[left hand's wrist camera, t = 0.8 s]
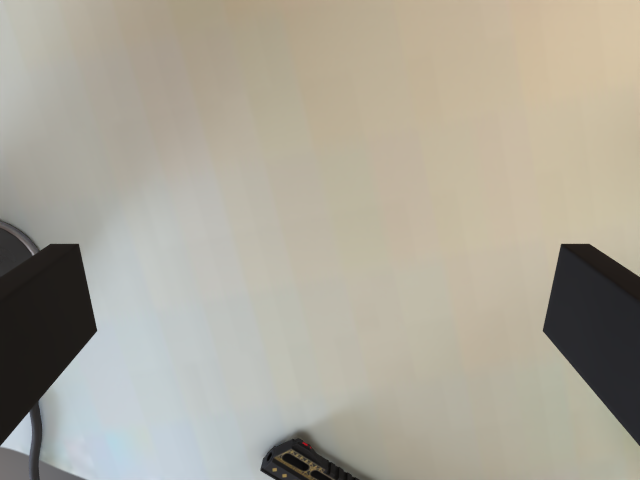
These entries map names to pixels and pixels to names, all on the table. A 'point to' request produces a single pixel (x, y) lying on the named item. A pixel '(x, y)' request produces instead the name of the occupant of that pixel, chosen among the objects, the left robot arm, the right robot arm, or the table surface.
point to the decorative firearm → (300, 464)
